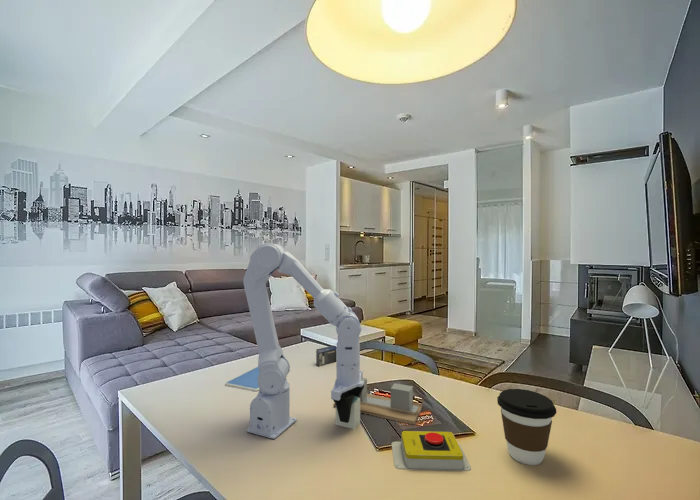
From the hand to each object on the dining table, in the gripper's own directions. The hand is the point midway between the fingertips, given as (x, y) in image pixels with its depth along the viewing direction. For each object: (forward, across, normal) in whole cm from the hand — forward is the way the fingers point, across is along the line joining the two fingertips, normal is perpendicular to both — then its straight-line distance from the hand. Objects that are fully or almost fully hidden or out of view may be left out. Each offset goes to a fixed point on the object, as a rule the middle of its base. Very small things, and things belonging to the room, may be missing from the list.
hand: (348, 417), depth 84 cm
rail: (+1, +11, -4) cm, 12 cm away
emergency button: (+2, -5, -21) cm, 21 cm away
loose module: (+1, 0, 0) cm, 1 cm away
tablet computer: (+2, +15, +39) cm, 42 cm away
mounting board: (+1, +11, -4) cm, 12 cm away
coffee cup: (+2, +3, -39) cm, 39 cm away
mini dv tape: (+2, +36, +25) cm, 44 cm away
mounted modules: (0, +11, -4) cm, 12 cm away
